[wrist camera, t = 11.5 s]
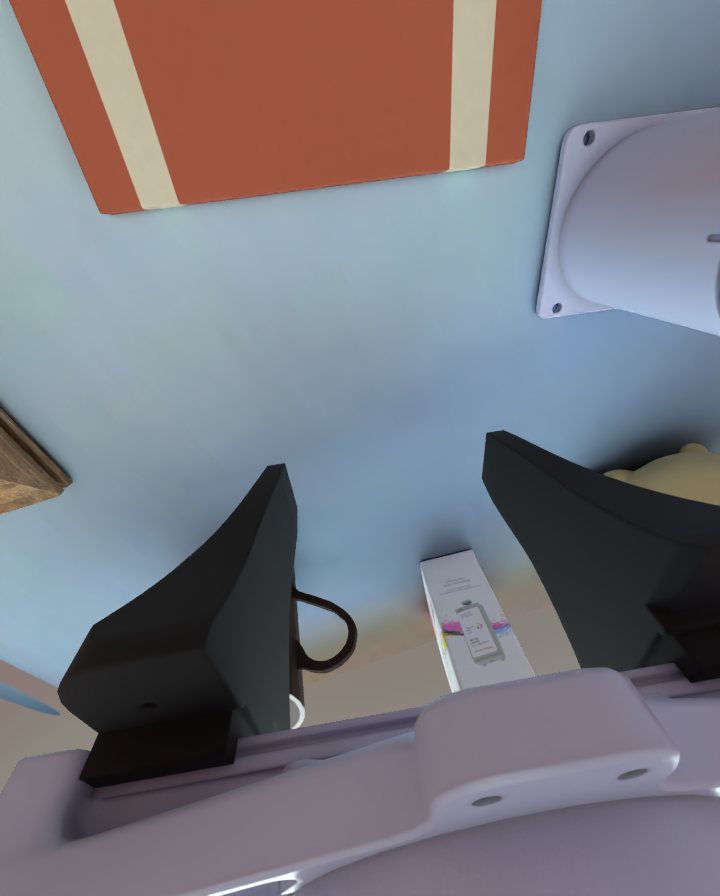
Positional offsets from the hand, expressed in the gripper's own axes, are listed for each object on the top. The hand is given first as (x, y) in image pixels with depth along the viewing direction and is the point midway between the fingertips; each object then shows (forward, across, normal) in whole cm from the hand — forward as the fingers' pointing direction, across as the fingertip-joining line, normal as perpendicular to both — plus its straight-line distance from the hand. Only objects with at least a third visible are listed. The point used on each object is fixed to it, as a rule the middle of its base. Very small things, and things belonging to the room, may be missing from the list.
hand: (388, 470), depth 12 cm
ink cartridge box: (+10, -6, +21) cm, 24 cm away
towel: (+9, +1, -14) cm, 17 cm away
